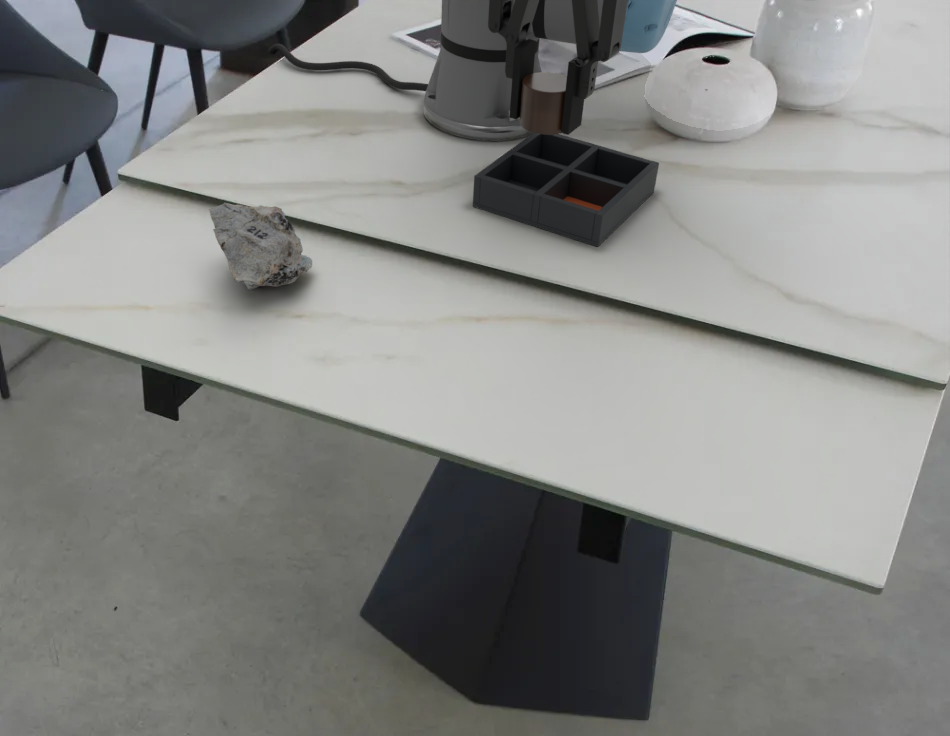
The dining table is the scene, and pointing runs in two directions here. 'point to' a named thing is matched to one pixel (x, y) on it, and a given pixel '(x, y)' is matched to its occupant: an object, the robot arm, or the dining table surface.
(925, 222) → the dining table surface
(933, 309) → the dining table surface
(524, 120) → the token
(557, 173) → the grid
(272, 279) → the mineral specimen
